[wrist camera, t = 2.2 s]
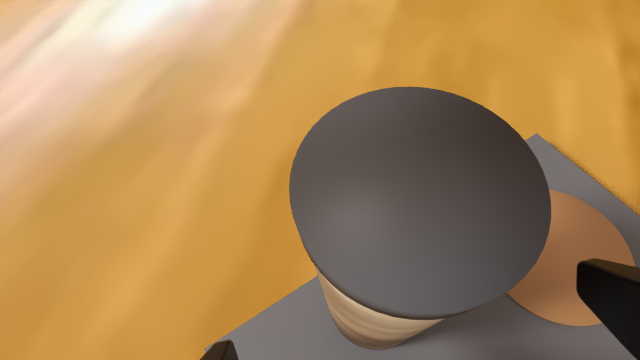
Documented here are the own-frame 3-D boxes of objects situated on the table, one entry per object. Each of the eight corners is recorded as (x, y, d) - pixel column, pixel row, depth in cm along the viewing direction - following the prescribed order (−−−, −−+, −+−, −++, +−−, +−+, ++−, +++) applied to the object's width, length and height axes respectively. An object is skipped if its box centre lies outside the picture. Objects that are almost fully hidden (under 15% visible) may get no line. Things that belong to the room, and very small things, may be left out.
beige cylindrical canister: (442, 315, 16) (613, 210, 6) (362, 374, 15) (391, 380, 5) (382, 237, 18) (427, 57, 8) (309, 285, 17) (247, 153, 7)
